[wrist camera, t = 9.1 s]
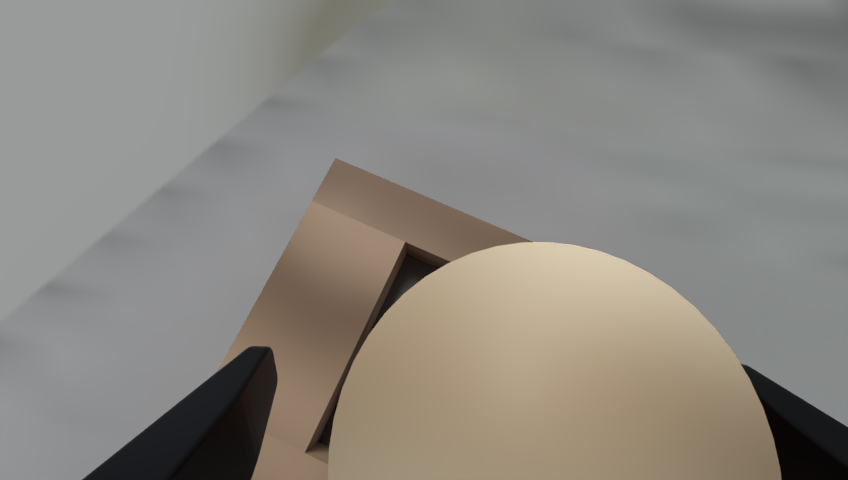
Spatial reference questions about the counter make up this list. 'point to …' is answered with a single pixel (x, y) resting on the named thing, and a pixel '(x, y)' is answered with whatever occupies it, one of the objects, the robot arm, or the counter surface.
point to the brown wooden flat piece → (341, 300)
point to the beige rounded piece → (547, 379)
